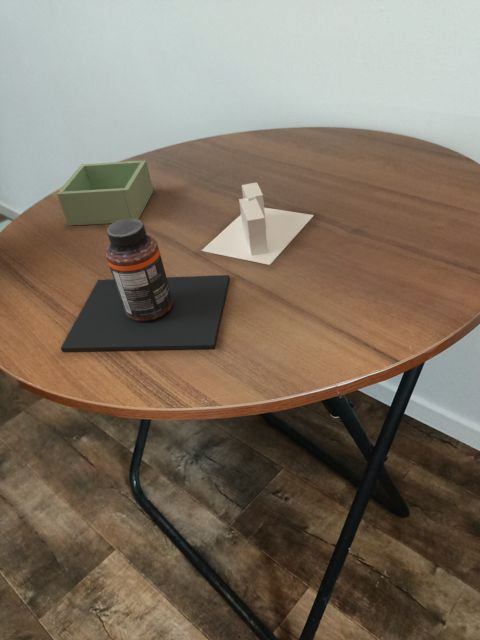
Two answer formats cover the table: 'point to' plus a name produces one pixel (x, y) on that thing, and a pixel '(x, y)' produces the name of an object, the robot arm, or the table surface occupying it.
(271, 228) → the napkin holder
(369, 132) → the table surface
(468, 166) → the table surface
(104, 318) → the mat
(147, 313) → the supplement bottle
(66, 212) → the bin
